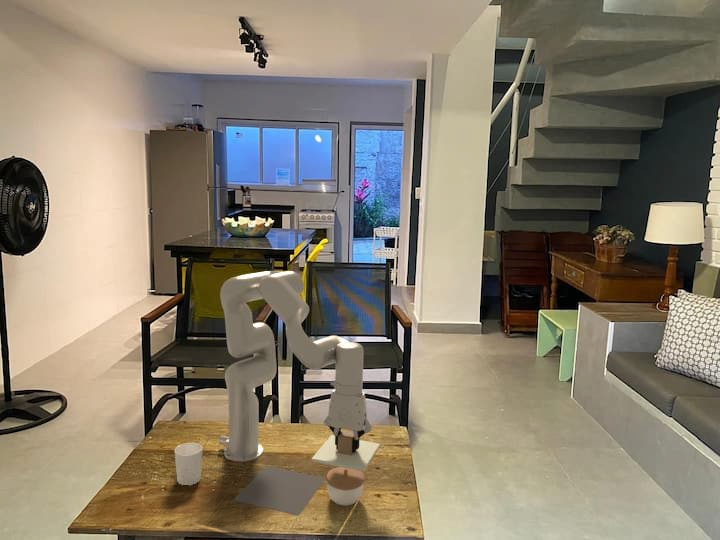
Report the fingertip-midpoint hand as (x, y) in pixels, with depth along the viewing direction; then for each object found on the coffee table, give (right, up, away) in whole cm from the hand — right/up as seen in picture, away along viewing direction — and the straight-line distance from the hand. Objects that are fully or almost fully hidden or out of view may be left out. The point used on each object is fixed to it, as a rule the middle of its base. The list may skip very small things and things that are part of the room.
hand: (347, 448), depth 159 cm
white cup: (-48, -13, +11) cm, 50 cm away
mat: (-19, -14, +7) cm, 25 cm away
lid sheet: (0, -1, 0) cm, 1 cm away
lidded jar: (-1, -16, +3) cm, 16 cm away
